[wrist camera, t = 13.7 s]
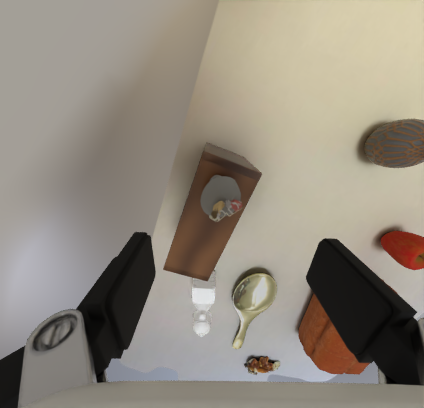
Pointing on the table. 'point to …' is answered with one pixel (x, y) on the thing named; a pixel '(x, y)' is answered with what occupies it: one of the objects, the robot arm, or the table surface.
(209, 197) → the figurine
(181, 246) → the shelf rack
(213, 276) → the container set
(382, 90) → the table surface
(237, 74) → the table surface
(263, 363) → the pastry
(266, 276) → the spoon
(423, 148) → the vase
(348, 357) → the bread
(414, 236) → the apple
